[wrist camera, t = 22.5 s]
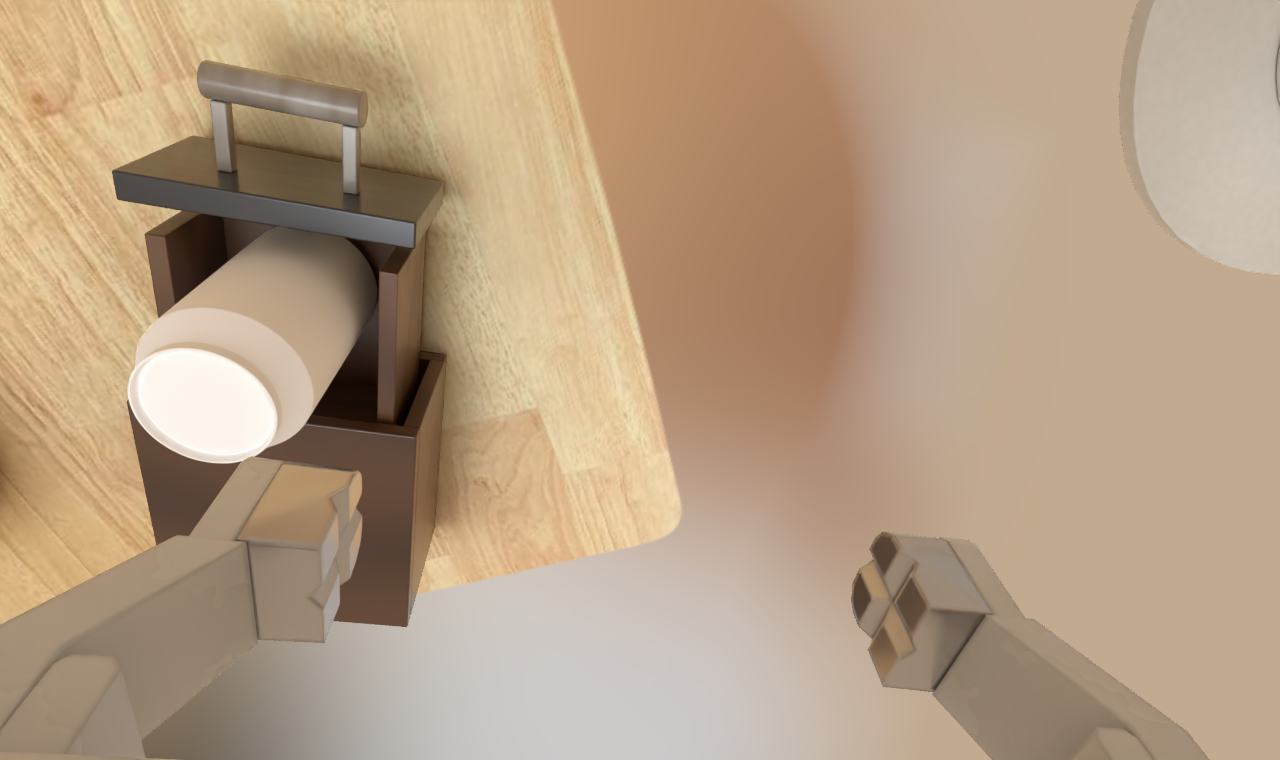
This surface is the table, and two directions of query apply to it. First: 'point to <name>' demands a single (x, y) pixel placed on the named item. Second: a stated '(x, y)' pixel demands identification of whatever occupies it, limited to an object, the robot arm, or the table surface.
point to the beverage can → (252, 346)
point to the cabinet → (389, 502)
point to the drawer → (295, 222)
